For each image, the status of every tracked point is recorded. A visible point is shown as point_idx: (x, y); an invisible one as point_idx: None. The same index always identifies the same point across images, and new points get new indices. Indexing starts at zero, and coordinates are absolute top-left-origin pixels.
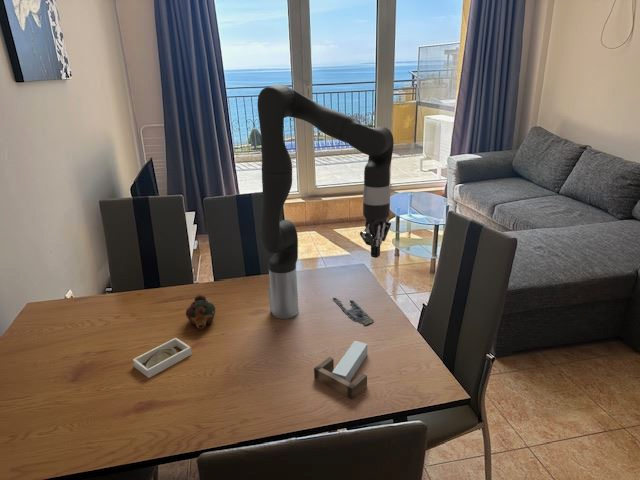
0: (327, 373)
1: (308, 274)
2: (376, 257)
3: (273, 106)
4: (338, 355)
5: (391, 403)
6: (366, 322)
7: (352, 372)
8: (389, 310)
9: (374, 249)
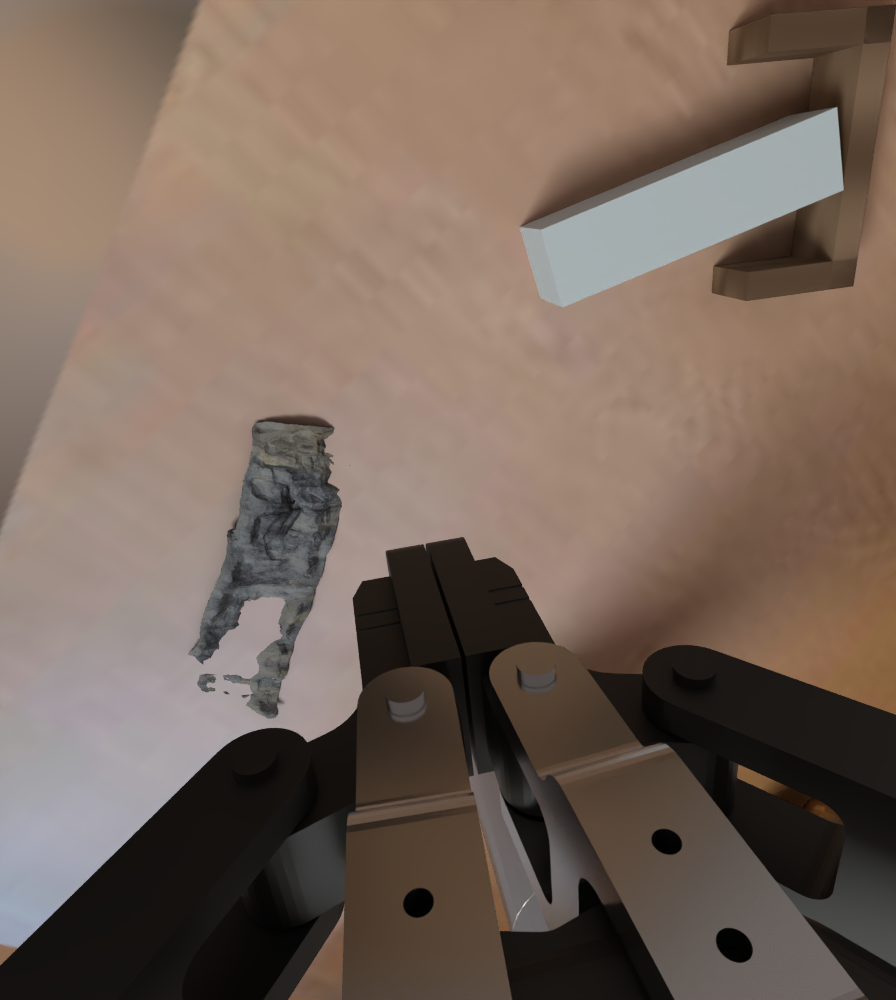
0: (855, 203)
1: None
2: (461, 545)
3: None
4: (618, 330)
5: None
6: (302, 441)
7: (729, 144)
8: (80, 448)
9: (549, 634)
